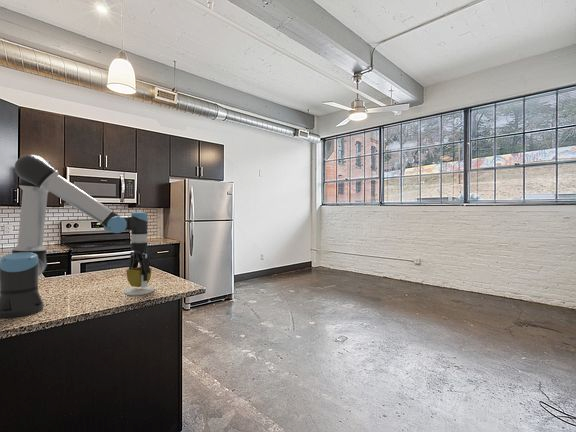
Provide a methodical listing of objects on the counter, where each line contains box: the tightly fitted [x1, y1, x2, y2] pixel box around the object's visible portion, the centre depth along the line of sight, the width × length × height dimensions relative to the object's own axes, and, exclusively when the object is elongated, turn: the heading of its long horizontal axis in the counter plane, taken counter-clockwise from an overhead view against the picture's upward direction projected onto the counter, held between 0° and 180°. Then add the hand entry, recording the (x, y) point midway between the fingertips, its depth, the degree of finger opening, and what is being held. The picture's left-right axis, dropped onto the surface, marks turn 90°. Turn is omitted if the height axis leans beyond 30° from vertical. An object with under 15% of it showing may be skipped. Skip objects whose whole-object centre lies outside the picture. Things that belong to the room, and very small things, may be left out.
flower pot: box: [125, 266, 153, 287], centre depth 158 cm, size 9×9×9 cm
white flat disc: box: [123, 285, 155, 296], centre depth 158 cm, size 14×14×1 cm
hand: (139, 285), depth 158 cm, fingers closed on flower pot, 9 cm apart
